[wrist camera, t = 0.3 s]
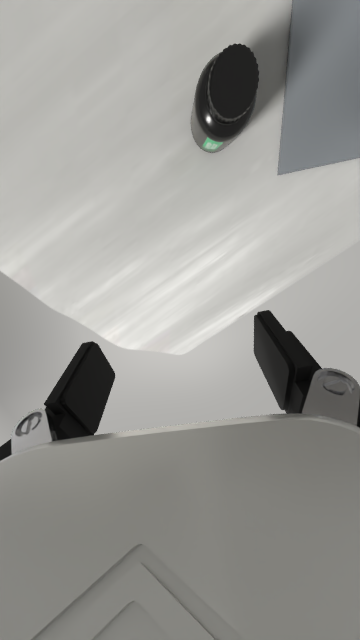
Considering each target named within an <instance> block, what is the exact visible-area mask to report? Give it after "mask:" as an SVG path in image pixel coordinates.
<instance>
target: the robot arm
mask: <svg viewBox="0 0 360 640" xmlns="http://www.w3.org/2000/svg"><path fill="white" fill-rule="evenodd" d="M254 354H255V356H256V359H257V361H258V363H259V365H260V367H261V369H262V371H263V374H264V376H265V378H266V379H267V382H268V384H269V386H270V388H271V390H272V392H273V394H274V396H275V399H276V400H277V403H278V405H279V407H280V408H281V410H285V411H286V413H287V414H273V415H262V416H251V417H241V418H232V419H224V420H215V421H206V422H198V423H189V424H181V425H174V426H165V427H156V428H148V429H140V430H132V431H124V432H116V433H108V434H101V435H94V433H95V432H96V431H97V429H98V426H99V423H100V420H101V418H102V415H103V412H104V409H105V405H106V403H107V400H108V397H109V394H110V391H111V388H112V385H113V382H114V379H115V373H114V371H113V369H112V368H111V366H110V364H109V362H108V361H107V359H106V357H105V356H104V354H103V352H102V351H101V349H100V347H99V345H98V344H96V343H94V342H87V343H83V344H82V345H81V346H80V348H79V349H78V351H77V353H76V354H75V356H74V357H73V359H72V361H71V362H70V364H69V365H68V367H67V368H66V370H65V372H64V373H63V375H62V376H61V378H60V379H59V381H58V382H57V384H56V386H55V387H54V389H53V391H52V392H51V394H50V395H49V397H48V398H47V400H46V402H45V403H44V405H45V406H46V409H45V410H43V409H36V410H33V411H31V412H29V413H28V414H26V415H25V416H24V417H23V418H22V419H21V420H19V421H18V423H17V424H16V425H15V427H14V429H13V431H12V434H11V439H10V440H9V441H8V442H6V443H5V444H4V445H2V446H1V447H0V640H360V386H359V384H358V383H357V381H356V380H355V379H354V378H353V377H351V376H350V375H348V374H347V373H345V372H343V371H340V370H337V369H332V368H324V369H322V368H321V367H320V366H319V364H318V363H317V362H316V361H315V360H314V358H313V357H312V356H311V355H310V353H309V352H308V351H307V350H306V349H305V347H304V346H303V345H302V344H301V343H300V341H299V340H298V339H297V338H296V337H295V335H294V334H293V333H292V332H291V331H285V329H284V328H283V327H282V325H281V324H280V323H279V322H278V320H277V319H276V318H275V317H274V316H273V314H272V313H271V312H270V311H269V310H267V311H262V312H258V313H257V315H255V316H254Z"/></svg>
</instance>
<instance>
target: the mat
mask: <svg viewBox="0 0 360 640" xmlns="http://www.w3.org/2000/svg"><path fill="white" fill-rule="evenodd" d="M356 158H360V0H293V2H292V13H291V25H290V36H289V48H288V60H287V71H286V83H285V94H284V106H283V118H282V129H281V141H280V152H279V164H278V175H281V174H286V173H291V172H295V171H300V170H305V169H310V168H314V167H319V166H324V165H328V164H333V163H338V162H342V161H347V160H352V159H356Z"/></svg>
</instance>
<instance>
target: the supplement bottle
mask: <svg viewBox="0 0 360 640" xmlns="http://www.w3.org/2000/svg"><path fill="white" fill-rule="evenodd" d="M258 75H259V71H258V64H257V63H256V58H255V57H254V54H253V52H251V50H250V48H247V47H246V46H245V45H241V44H238V45H237V44H233V45H229V46H228V48H225V49H224V50H223V52H221V53H219V54H217V55H216V56H214V57H213V58H212V59H211V60H210V61H209V62H208V63H207V65H206V66H205V68H204V69H203V71H202V73H201V75H200V78H199V81H198V84H197V87H196V92H195V98H194V103H193V109H192V115H191V130H192V135H193V138H194V140H195V142H196V144H197V145H198V146H199V147H200V148H201V149H202V150H204V151H206V152H209V153H215V152H219V151H221V150H222V149H224V148H225V147H226V146H227V145H229V144H230V143H231V142H232V141H233V140H234V139H235V138H236V137H237V136H238V135H239V134H240V133H241V132H242V131H243V129H244V128H245V127H246V125H247V124H248V122H249V120H250V118H251V116H252V113H253V110H254V106H255V102H256V93H257V88H258V81H259V78H258Z"/></svg>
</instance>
